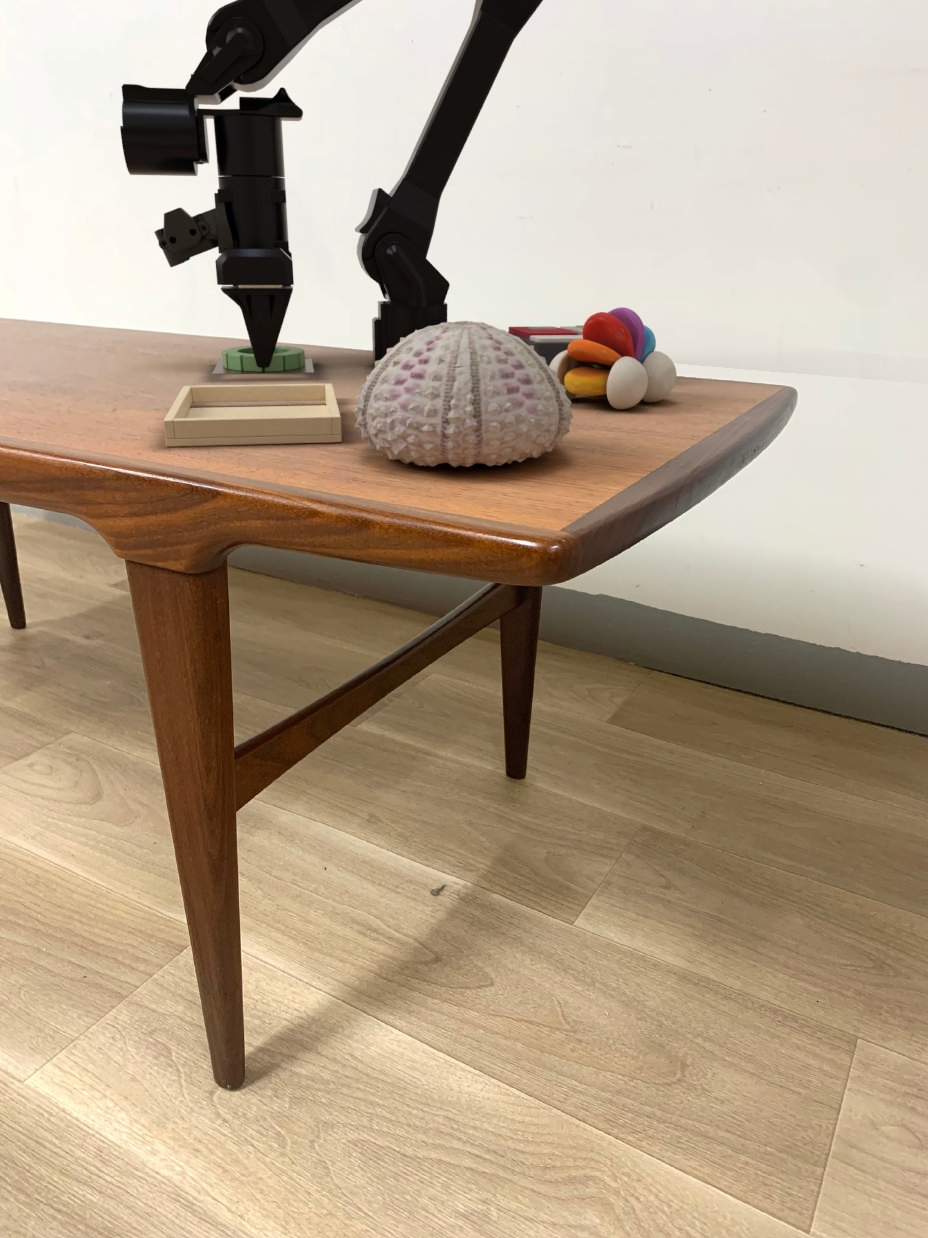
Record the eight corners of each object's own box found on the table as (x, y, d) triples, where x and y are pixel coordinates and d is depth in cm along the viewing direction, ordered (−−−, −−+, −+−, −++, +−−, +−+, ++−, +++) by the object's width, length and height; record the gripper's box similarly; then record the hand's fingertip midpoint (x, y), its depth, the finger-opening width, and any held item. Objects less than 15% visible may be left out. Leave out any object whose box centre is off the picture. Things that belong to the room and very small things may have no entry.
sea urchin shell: (311, 456, 59) (304, 321, 56) (452, 423, 69) (453, 307, 66) (479, 495, 51) (481, 341, 48) (610, 452, 61) (620, 322, 58)
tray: (333, 405, 75) (332, 383, 74) (341, 442, 63) (340, 416, 62) (185, 408, 73) (183, 385, 72) (166, 446, 61) (163, 420, 60)
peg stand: (312, 364, 94) (308, 294, 92) (314, 379, 86) (310, 302, 84) (219, 365, 93) (212, 294, 90) (212, 380, 85) (205, 302, 82)
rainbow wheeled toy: (531, 401, 77) (535, 307, 74) (601, 387, 84) (607, 300, 81) (619, 416, 72) (626, 316, 69) (686, 400, 78) (695, 308, 76)
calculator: (607, 323, 98) (656, 332, 84) (605, 366, 99) (652, 383, 85) (502, 324, 96) (534, 333, 82) (501, 367, 98) (532, 384, 84)
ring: (304, 359, 93) (303, 344, 93) (306, 371, 87) (305, 355, 86) (225, 360, 92) (224, 345, 92) (220, 372, 85) (219, 356, 85)
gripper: (168, 178, 90) (185, 348, 96) (140, 171, 73) (163, 378, 80) (287, 180, 92) (296, 347, 98) (287, 174, 75) (298, 376, 81)
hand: (264, 360), depth 89 cm, fingers closed on ring, 7 cm apart
